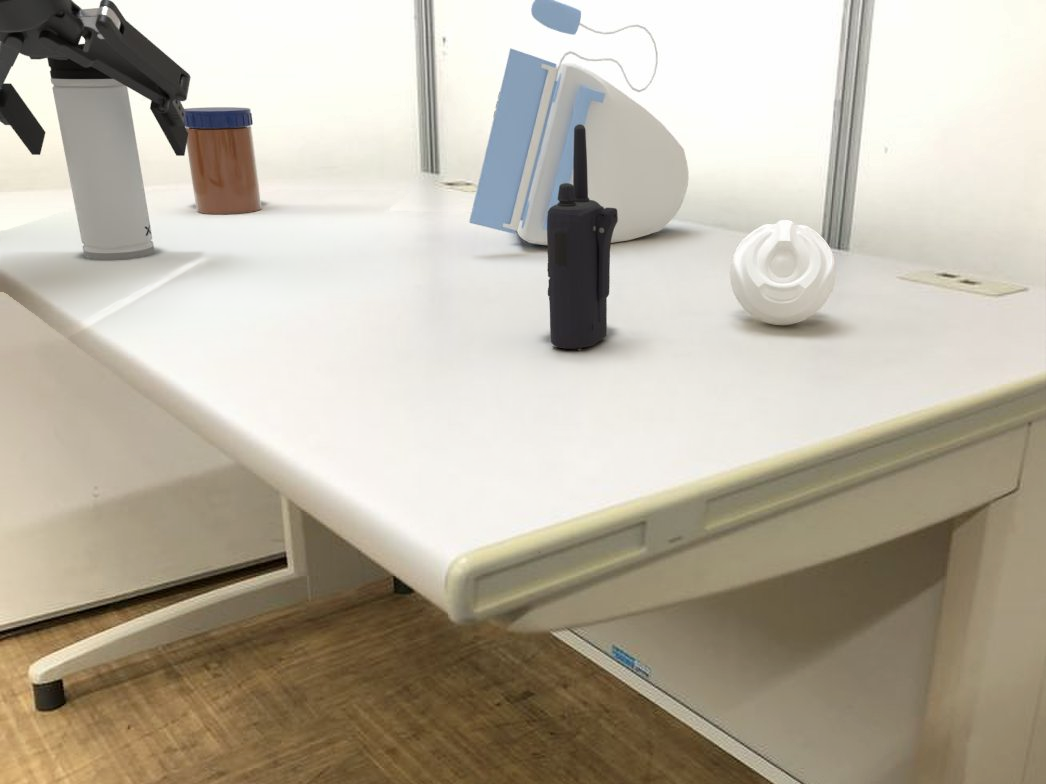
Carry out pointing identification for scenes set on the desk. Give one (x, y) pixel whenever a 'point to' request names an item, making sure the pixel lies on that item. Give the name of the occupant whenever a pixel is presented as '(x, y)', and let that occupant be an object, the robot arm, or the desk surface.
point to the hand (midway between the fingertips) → (111, 144)
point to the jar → (223, 170)
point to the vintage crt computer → (548, 145)
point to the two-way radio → (578, 259)
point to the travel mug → (101, 161)
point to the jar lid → (217, 117)
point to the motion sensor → (782, 273)
